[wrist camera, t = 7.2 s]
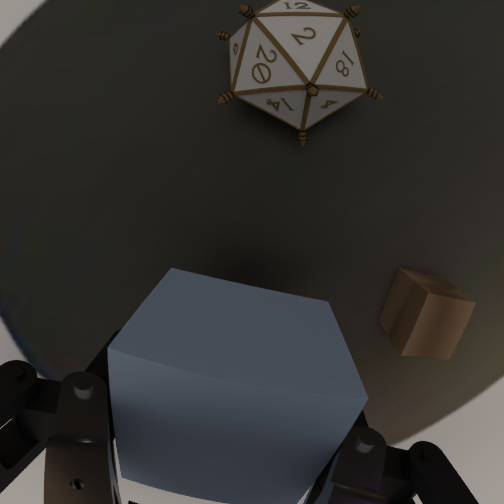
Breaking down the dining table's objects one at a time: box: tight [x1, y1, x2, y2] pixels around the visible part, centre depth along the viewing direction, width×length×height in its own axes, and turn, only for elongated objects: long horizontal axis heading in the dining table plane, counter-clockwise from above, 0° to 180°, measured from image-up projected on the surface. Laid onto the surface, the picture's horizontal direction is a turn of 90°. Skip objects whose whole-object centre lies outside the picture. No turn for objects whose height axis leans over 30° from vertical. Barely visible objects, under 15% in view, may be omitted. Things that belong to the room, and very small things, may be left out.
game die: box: [217, 0, 383, 146], centre depth 14 cm, size 9×8×10 cm
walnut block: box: [378, 267, 476, 360], centre depth 19 cm, size 4×4×5 cm
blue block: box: [108, 268, 368, 504], centre depth 9 cm, size 6×6×5 cm
